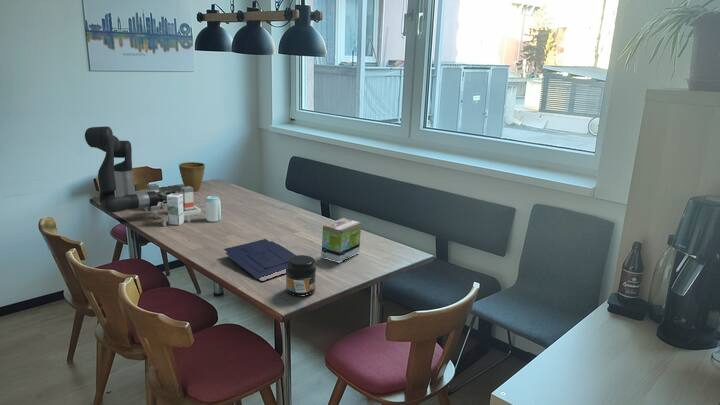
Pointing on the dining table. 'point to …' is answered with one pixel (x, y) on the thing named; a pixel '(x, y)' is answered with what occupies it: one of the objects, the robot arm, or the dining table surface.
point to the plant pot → (192, 174)
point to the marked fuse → (187, 198)
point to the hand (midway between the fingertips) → (178, 195)
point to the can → (213, 209)
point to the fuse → (155, 188)
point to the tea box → (341, 239)
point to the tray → (192, 212)
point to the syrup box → (175, 209)
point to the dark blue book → (260, 257)
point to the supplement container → (300, 275)
